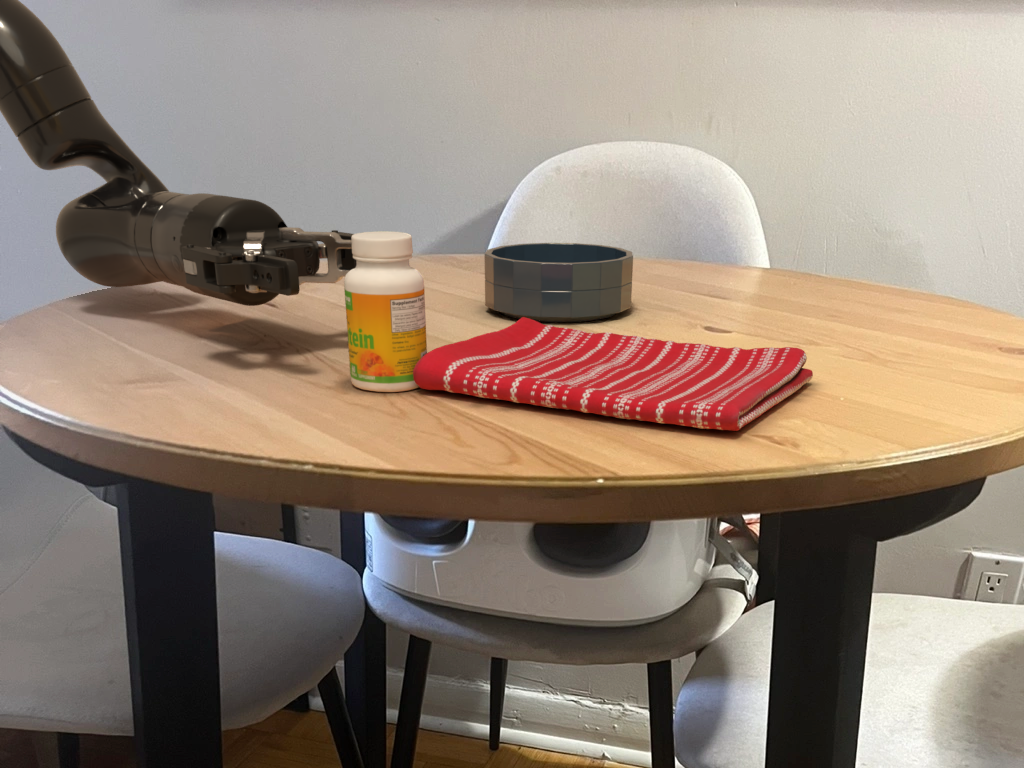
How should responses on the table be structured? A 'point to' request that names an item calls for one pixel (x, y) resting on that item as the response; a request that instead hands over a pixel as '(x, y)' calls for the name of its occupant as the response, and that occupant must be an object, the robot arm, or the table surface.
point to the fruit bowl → (558, 281)
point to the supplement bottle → (384, 312)
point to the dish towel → (617, 375)
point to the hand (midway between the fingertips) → (346, 272)
